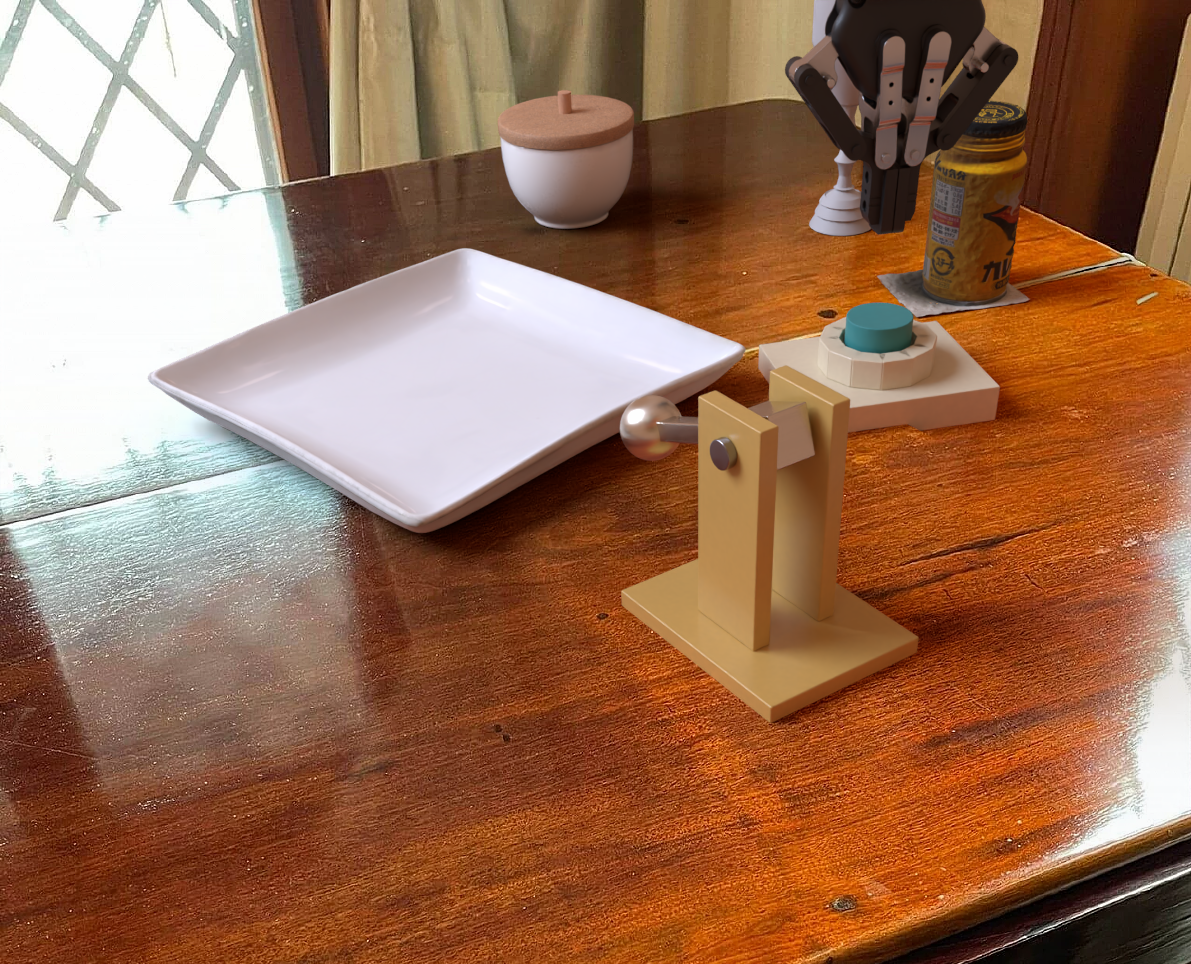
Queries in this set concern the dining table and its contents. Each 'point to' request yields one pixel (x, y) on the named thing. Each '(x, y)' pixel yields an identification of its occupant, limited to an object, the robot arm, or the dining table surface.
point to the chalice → (842, 202)
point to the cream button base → (893, 378)
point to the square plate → (444, 382)
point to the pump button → (878, 328)
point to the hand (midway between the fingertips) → (884, 228)
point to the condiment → (971, 219)
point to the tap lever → (660, 428)
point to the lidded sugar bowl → (568, 156)
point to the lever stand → (770, 562)
